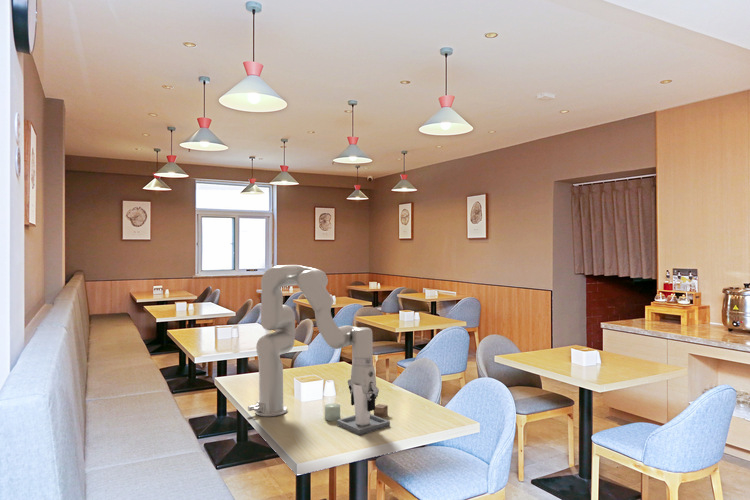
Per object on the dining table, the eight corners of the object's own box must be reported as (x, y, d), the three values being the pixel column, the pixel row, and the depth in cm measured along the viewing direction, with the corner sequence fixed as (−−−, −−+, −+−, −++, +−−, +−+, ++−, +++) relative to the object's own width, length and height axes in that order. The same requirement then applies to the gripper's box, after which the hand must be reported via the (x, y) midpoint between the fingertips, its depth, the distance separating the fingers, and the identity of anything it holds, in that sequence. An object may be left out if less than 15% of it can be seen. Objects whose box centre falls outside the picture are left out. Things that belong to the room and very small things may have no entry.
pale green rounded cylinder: (330, 422, 190) (330, 409, 190) (321, 418, 195) (321, 405, 195) (343, 418, 194) (343, 406, 194) (334, 415, 198) (334, 402, 198)
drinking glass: (369, 427, 182) (369, 386, 182) (351, 426, 184) (351, 385, 184) (373, 421, 189) (373, 381, 189) (356, 420, 190) (355, 380, 190)
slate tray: (359, 435, 176) (359, 430, 176) (336, 424, 187) (336, 420, 187) (389, 426, 185) (389, 421, 185) (366, 416, 196) (366, 412, 196)
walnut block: (382, 418, 194) (382, 408, 194) (373, 416, 196) (373, 406, 196) (387, 415, 198) (387, 405, 198) (378, 413, 200) (378, 403, 200)
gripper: (385, 363, 182) (385, 410, 182) (356, 356, 195) (356, 400, 195) (369, 366, 177) (369, 415, 177) (340, 359, 190) (341, 404, 190)
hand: (362, 407), depth 186 cm, fingers open, 9 cm apart
